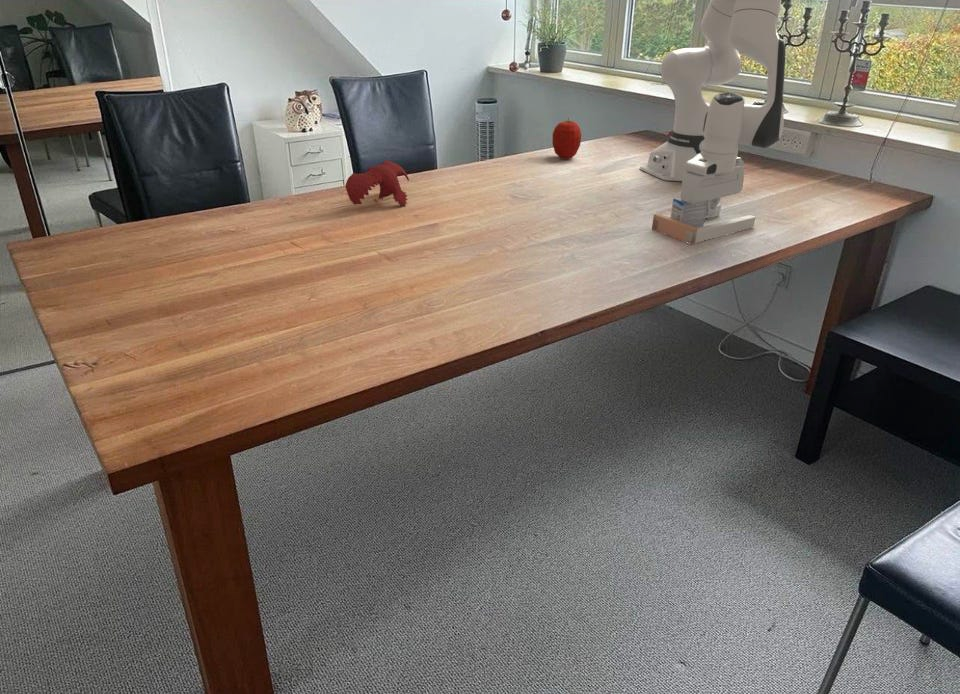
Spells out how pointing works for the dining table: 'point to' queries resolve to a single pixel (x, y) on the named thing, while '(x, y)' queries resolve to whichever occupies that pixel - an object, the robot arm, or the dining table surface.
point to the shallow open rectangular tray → (702, 233)
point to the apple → (566, 139)
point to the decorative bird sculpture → (377, 175)
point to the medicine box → (689, 212)
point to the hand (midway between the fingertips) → (708, 214)
